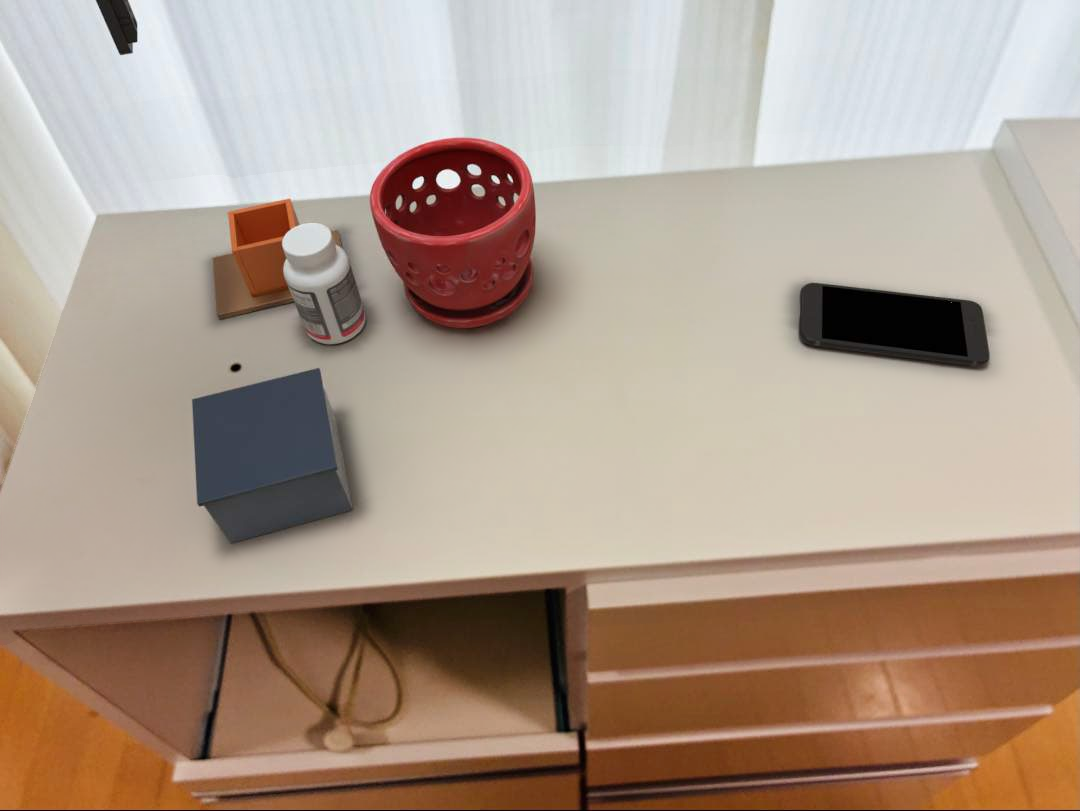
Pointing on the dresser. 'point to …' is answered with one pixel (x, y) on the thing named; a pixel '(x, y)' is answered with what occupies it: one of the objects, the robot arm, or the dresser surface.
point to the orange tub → (262, 244)
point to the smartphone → (893, 324)
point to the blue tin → (269, 456)
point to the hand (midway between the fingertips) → (53, 60)
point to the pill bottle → (322, 284)
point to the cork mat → (243, 288)
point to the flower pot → (458, 230)
